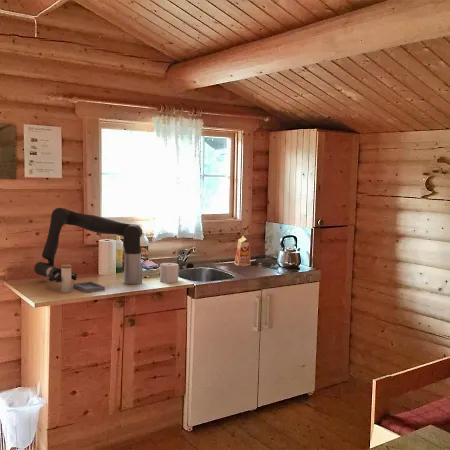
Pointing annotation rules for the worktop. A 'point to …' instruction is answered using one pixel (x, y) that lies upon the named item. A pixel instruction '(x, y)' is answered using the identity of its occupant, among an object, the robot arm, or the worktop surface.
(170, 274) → the toilet tissue
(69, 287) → the canister
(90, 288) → the dish
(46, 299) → the worktop surface
